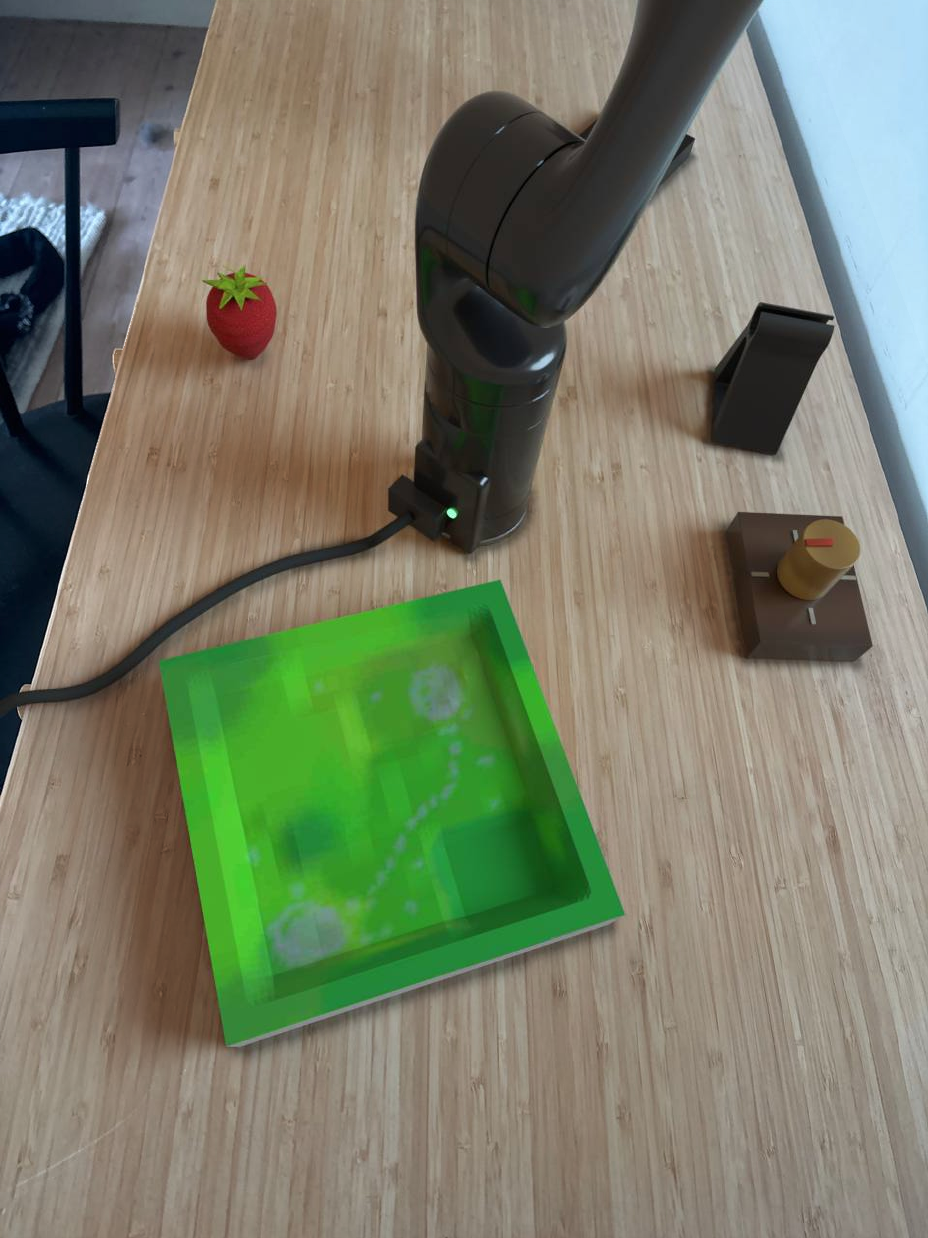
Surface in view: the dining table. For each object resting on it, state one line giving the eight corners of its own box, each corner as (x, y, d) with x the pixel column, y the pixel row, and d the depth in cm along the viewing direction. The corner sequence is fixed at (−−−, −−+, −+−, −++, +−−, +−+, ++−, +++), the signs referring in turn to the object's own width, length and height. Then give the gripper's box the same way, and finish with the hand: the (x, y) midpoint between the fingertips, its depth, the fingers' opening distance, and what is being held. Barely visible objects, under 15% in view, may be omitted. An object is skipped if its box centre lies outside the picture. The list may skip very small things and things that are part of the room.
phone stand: (774, 456, 79) (835, 362, 68) (709, 444, 79) (760, 347, 68) (775, 382, 83) (833, 282, 72) (714, 370, 83) (762, 268, 72)
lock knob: (822, 552, 71) (853, 516, 66) (836, 599, 69) (869, 566, 64) (770, 553, 70) (798, 517, 65) (783, 601, 68) (813, 567, 63)
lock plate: (854, 661, 70) (874, 645, 67) (745, 658, 69) (761, 641, 66) (826, 535, 75) (843, 515, 72) (725, 530, 74) (738, 510, 72)
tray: (174, 687, 64) (158, 660, 60) (493, 609, 69) (500, 579, 65) (239, 1047, 54) (226, 1046, 50) (607, 925, 59) (625, 914, 55)
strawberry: (215, 388, 77) (192, 301, 68) (219, 325, 80) (198, 235, 71) (282, 388, 78) (268, 302, 69) (284, 326, 81) (271, 236, 72)
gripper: (627, -210, 68) (582, 23, 84) (775, -148, 66) (700, 81, 81) (673, -238, 72) (621, -8, 87) (816, -180, 69) (736, 46, 84)
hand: (660, 34), depth 84 cm, fingers closed
